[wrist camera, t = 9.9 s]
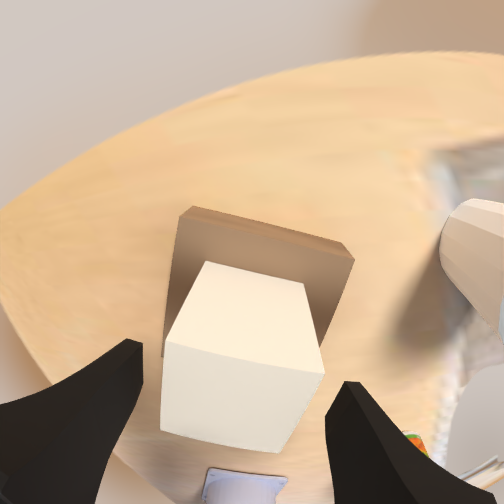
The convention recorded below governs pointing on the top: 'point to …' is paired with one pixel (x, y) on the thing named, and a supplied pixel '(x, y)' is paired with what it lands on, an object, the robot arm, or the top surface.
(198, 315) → the cream block
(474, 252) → the white cup
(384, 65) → the top surface
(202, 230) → the walnut block
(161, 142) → the top surface
